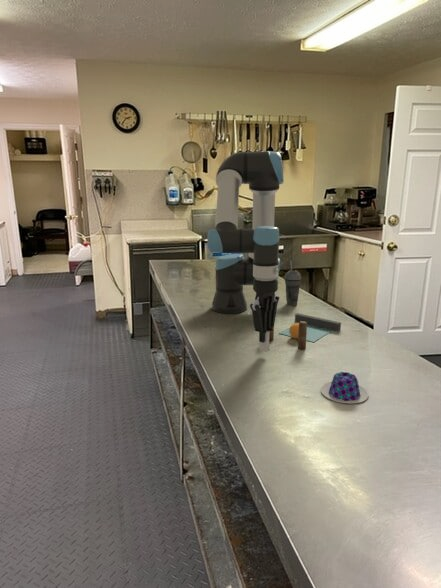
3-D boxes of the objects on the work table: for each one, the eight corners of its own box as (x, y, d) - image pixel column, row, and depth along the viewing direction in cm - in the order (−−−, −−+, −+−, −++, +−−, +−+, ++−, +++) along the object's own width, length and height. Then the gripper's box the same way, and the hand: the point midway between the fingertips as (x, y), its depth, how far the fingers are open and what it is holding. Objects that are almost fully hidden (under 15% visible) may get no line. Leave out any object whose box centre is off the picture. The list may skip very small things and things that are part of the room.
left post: (264, 339, 151) (265, 315, 148) (268, 337, 152) (269, 313, 150) (270, 341, 149) (271, 316, 147) (274, 339, 151) (275, 314, 148)
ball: (286, 324, 150) (294, 319, 154) (286, 338, 152) (294, 333, 156) (300, 328, 146) (308, 323, 150) (299, 342, 148) (307, 337, 152)
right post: (296, 348, 143) (297, 322, 140) (300, 346, 145) (301, 320, 142) (303, 350, 141) (304, 324, 139) (307, 348, 143) (308, 322, 141)
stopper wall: (294, 321, 169) (295, 314, 168) (297, 320, 170) (297, 313, 169) (338, 331, 158) (338, 323, 157) (340, 330, 159) (340, 322, 158)
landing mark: (278, 333, 156) (278, 333, 156) (298, 323, 167) (298, 323, 167) (313, 342, 148) (313, 342, 148) (331, 331, 158) (331, 330, 158)
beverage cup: (300, 307, 187) (301, 261, 182) (283, 306, 189) (284, 261, 184) (300, 302, 194) (302, 258, 189) (284, 301, 196) (285, 258, 190)
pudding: (333, 379, 122) (334, 362, 120) (375, 392, 114) (377, 374, 113) (312, 395, 113) (313, 377, 112) (356, 411, 106) (357, 391, 104)
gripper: (263, 284, 123) (262, 360, 130) (287, 275, 133) (285, 347, 139) (242, 280, 128) (242, 354, 134) (267, 272, 138) (265, 341, 144)
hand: (264, 350), depth 137 cm, fingers closed
